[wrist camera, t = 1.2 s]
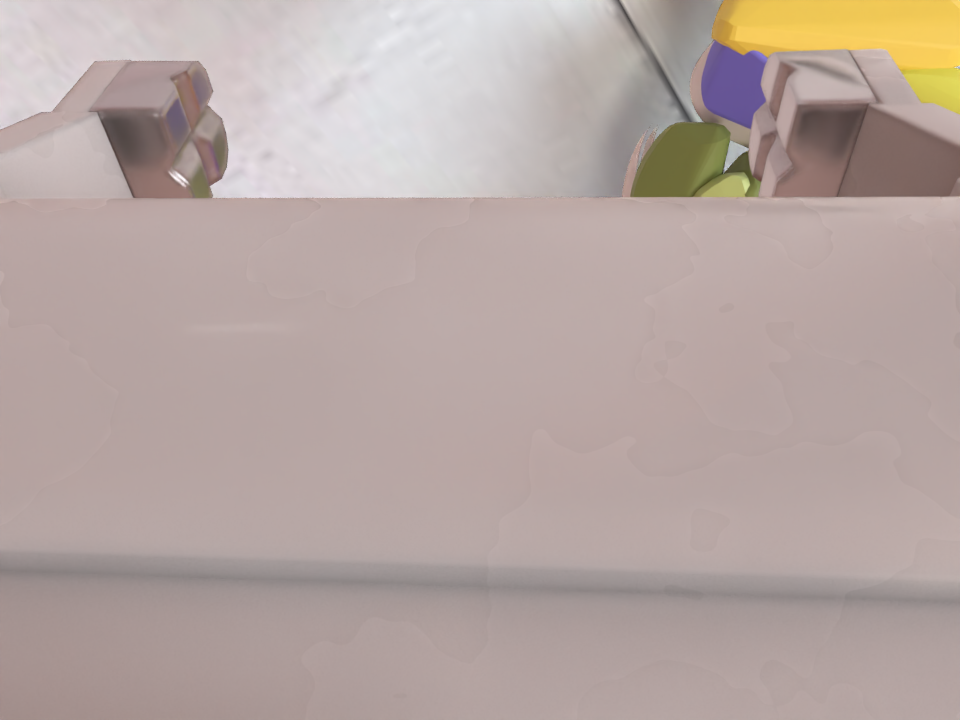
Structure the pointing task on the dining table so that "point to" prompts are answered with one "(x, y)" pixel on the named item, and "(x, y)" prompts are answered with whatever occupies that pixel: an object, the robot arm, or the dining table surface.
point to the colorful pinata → (739, 68)
